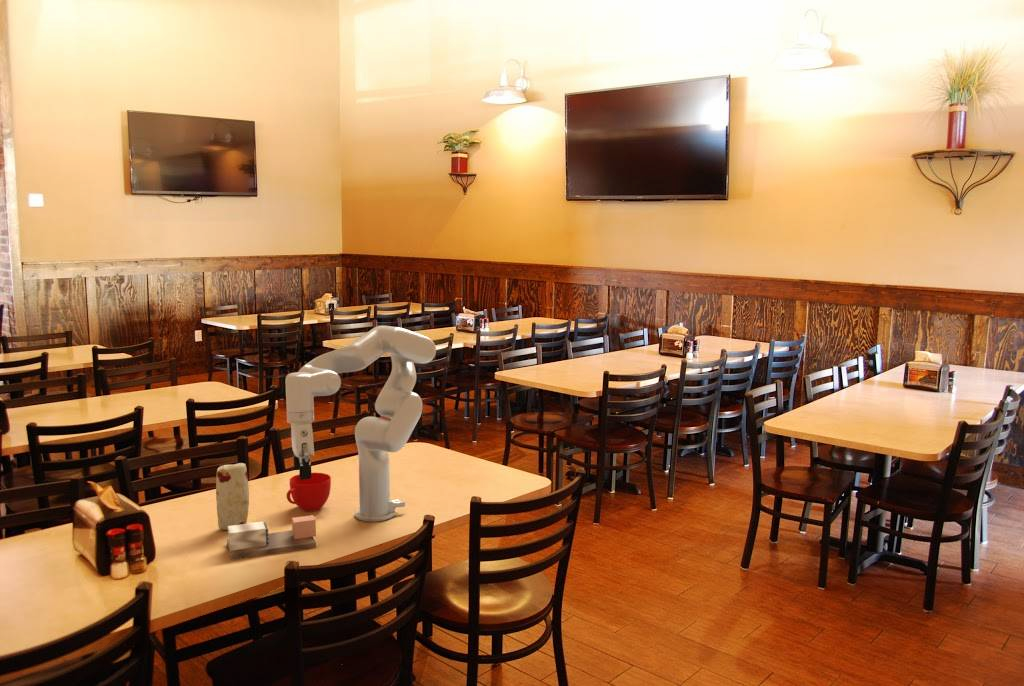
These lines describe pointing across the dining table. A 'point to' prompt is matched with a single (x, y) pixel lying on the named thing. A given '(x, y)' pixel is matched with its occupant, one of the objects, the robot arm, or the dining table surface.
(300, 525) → the stub
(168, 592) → the dining table surface
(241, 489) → the food model
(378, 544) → the dining table surface
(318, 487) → the ceramic cup
